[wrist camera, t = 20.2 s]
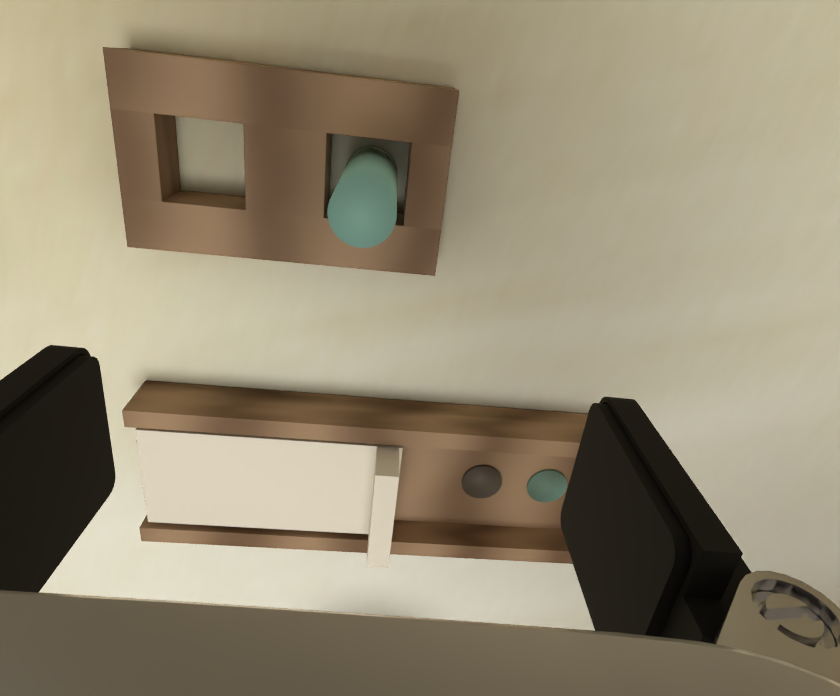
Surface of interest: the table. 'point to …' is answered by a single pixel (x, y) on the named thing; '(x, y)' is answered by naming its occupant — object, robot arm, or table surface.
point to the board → (419, 472)
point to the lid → (272, 484)
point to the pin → (365, 199)
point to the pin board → (273, 158)
